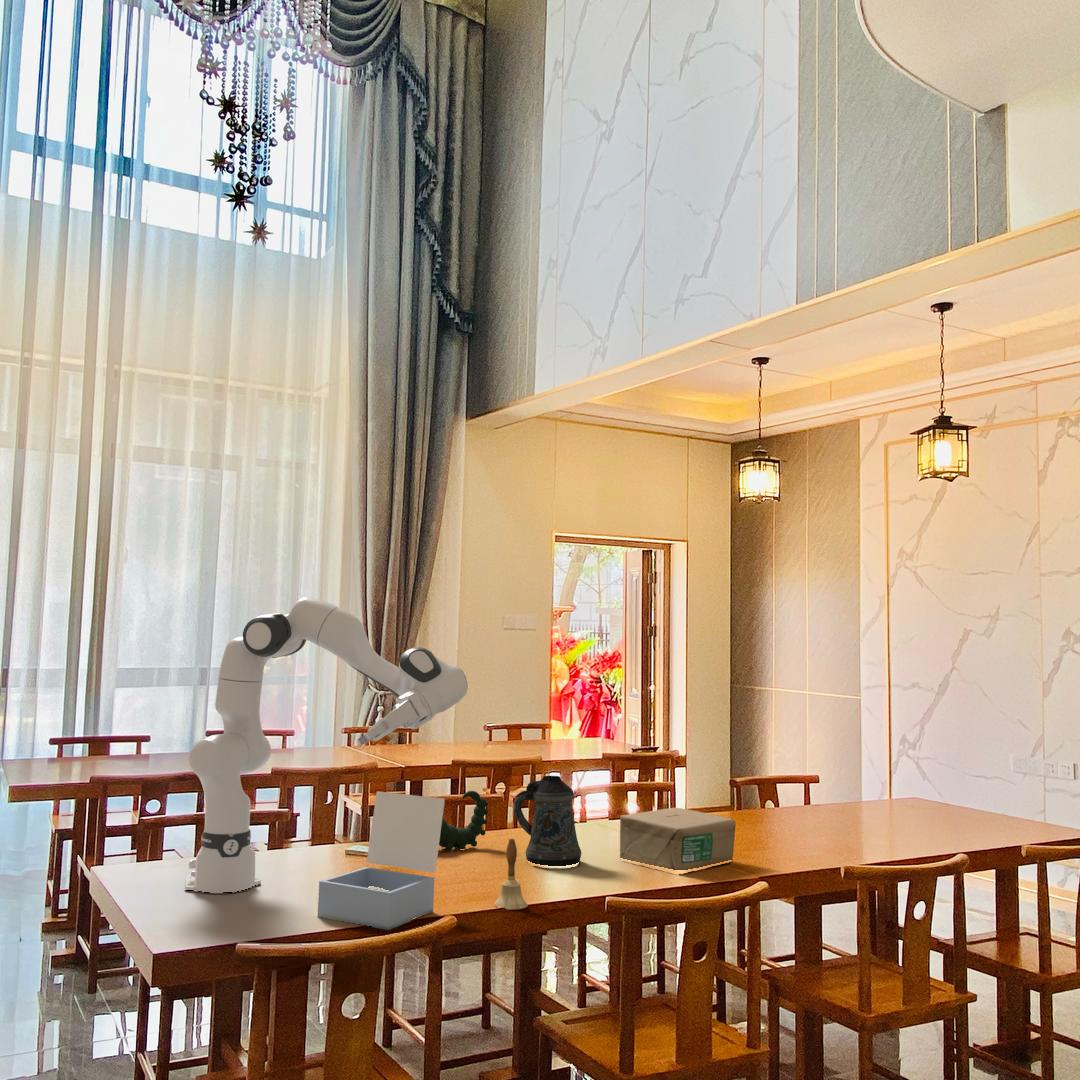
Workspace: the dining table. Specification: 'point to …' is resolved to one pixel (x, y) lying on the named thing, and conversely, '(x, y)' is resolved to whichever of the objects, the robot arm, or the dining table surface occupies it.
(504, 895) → the hand bell
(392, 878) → the box
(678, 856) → the paper package
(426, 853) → the lid
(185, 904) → the dining table surface
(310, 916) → the dining table surface
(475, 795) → the toy figurine
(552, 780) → the beer stein
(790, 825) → the dining table surface
